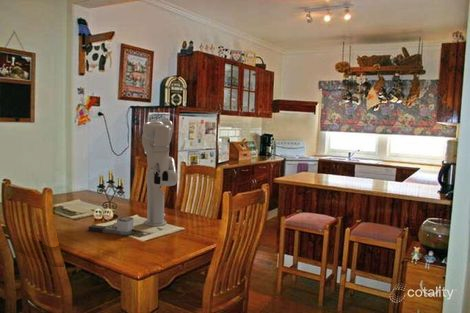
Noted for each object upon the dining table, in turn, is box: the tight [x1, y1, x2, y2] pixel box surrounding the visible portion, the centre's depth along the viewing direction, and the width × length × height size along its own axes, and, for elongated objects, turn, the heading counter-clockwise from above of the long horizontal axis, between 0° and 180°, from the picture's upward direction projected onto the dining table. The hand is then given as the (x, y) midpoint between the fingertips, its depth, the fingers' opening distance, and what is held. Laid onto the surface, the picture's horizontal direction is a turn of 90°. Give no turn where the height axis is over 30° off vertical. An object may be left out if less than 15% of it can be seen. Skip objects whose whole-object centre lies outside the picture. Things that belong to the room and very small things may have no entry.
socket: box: [116, 216, 134, 232], centre depth 197 cm, size 6×6×6 cm
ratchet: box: [87, 224, 132, 237], centre depth 199 cm, size 6×24×6 cm, turn 77°
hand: (161, 182), depth 194 cm, fingers open, 9 cm apart
